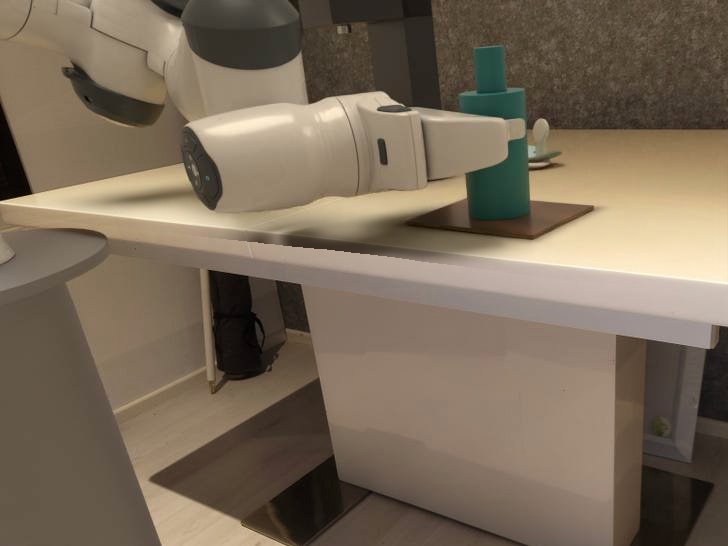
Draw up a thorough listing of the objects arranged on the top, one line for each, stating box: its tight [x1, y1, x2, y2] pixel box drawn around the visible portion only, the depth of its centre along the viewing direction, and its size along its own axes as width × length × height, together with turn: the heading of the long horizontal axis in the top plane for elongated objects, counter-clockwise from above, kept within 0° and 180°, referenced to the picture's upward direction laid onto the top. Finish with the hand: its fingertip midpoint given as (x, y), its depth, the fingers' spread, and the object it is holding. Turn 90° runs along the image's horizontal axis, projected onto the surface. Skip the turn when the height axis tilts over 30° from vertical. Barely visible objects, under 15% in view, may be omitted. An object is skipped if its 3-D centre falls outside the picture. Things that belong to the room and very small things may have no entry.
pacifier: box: [528, 117, 563, 169], centre depth 95 cm, size 7×6×6 cm
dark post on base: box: [297, 0, 449, 183], centre depth 91 cm, size 14×14×26 cm
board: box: [405, 197, 595, 240], centre depth 72 cm, size 12×16×1 cm
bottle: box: [457, 45, 531, 220], centre depth 68 cm, size 7×7×16 cm
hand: (501, 124), depth 68 cm, fingers closed on bottle, 6 cm apart
